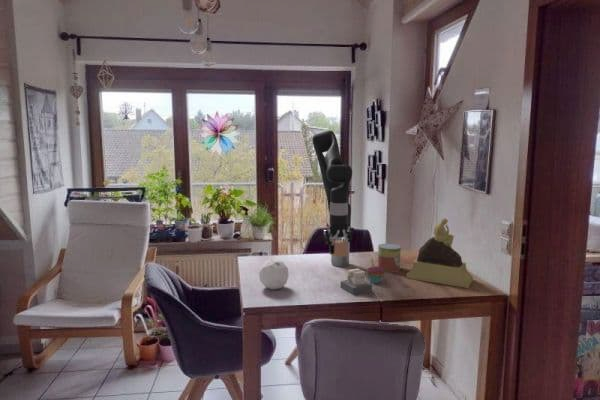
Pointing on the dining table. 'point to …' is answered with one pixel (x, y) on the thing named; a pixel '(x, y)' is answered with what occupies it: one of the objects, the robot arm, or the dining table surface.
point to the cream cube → (356, 277)
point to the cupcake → (375, 273)
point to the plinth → (356, 287)
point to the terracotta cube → (340, 248)
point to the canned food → (389, 257)
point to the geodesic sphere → (273, 274)
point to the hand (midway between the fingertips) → (338, 252)
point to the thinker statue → (440, 261)
